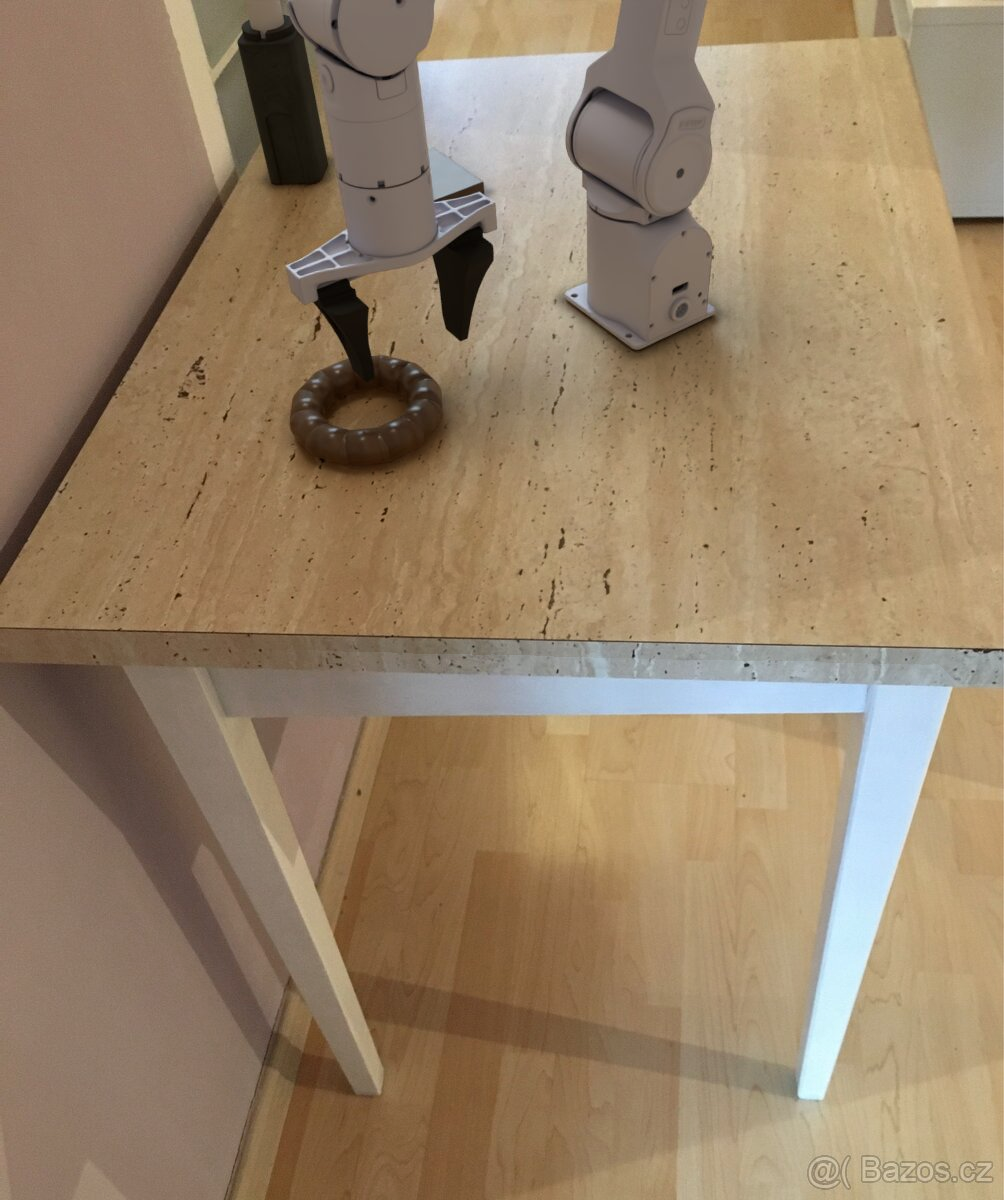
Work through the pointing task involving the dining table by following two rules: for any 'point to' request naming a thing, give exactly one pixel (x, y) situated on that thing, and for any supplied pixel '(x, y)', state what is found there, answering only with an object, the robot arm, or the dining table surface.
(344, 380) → the segmented ring
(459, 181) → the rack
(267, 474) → the dining table surface
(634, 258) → the robot arm
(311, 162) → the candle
